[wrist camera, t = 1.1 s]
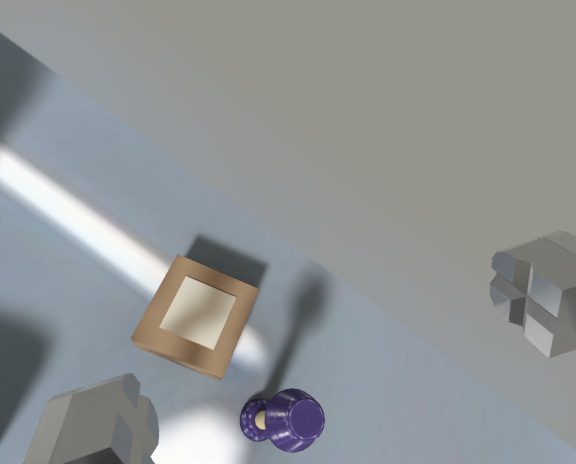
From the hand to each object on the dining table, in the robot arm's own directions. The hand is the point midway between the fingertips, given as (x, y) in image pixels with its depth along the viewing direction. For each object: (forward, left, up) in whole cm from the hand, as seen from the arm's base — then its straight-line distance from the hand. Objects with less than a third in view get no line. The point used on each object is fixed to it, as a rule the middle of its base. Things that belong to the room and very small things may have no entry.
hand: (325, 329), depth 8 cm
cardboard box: (-5, +7, -38) cm, 39 cm away
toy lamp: (+6, 0, -38) cm, 39 cm away
